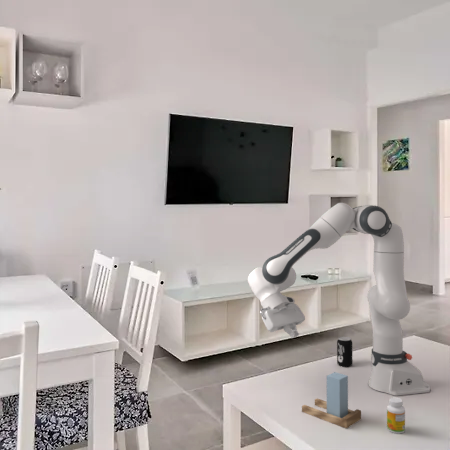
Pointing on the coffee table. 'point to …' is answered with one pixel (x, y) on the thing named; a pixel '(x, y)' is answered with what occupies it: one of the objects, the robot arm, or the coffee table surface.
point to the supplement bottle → (395, 415)
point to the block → (337, 394)
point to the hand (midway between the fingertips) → (295, 336)
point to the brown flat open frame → (343, 422)
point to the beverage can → (344, 351)
